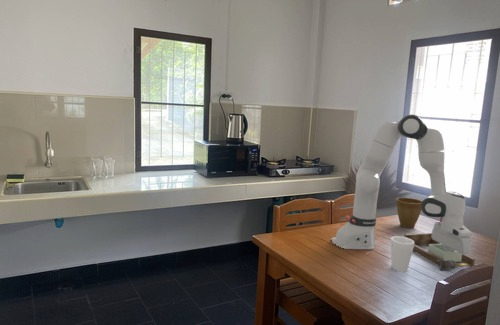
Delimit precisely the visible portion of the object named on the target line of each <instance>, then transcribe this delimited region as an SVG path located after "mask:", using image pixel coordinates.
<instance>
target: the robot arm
mask: <svg viewBox="0 0 500 325" xmlns="http://www.w3.org/2000/svg"><path fill="white" fill-rule="evenodd" d="M424 122H425V121H424V120H423V119H422V118H421V117H420V115H419V116H418V115H416V114H407V115H404V116H403V117H402V118H401V119H400V120H399V121H397V122H393V121H384V122H382V123H381V124H380V126H379V127H378V129H377V131H376V132H375V133H374V136H373V138H372V139H371V142H370V145H369V147H368V150H367V152H366V153H365V156H364V158H363V160H362V161H361V164H360V166H359V168H358V170H357V171H356V175H355V192H354V199H353V209H352V215H351V216H349V215H346V216H345V219H346V220H348V222H347V223H345V224H344V225H343V226H341V227H340V228H338V230H337V232H336V234H335V237H331V240H332V241H331V242H332V243H333V244H334V245H335V244H336V245H335V246H336V247H338V246H339V247H338V248H340V247H341V249H343V248H344V249H343V250H374V248H375V247H376V246H377V243H376V236H375V235H376V234H375V228H376V225H377V217H376V214H377V206H378V205H377V204H378V198H379V191H380V183H381V179H380V177H381V175H382V173H383V171H384V169H385V167H387V165H388V163H389V161H390V158H391V156H392V154H393V152H394V150H395V147H396V146H397V144H398V141H399V140H400V139H401V138H402V137H405V138H407V139H413V140H416V142H417V149H418V161H419V165H420V166H421V168H422V169H423V170H425V171H426V172H427V174H428V175H429V180H430V189H431V192H430V194H429V196H427V197H426V198H424V199H423V200H421V201H422V203H421V212H422V213H423V214H424V215H425V216H427V217H429V218H431V217H432V218H440V219H441V218H442V221H441V223H440V221H436V222H434V225H433V228H432V230H431V231H432V232H431V233H432V235H431V237H432V239H433V240H435V241H437V242H439V243H441V244H443V248H444V252H446V251H457V252H459V253H461V254H465V255H468V254H470V252H471V247H472V239H471V237H472V235H473V233H472V231H471V230H470V229H468V228H467V227H466V226H465V225H464V216H465V212H466V198H465V197H464V195H462V194H461V193H459V192H456V191H447V189H446V180H445V177H446V176H445V145H444V138H443V134H442V132H441V130H440V129H438V128H435V127H427V125H426V124H425V123H424ZM448 247H449V250H448Z"/></svg>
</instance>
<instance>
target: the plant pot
mask: <svg viewBox="0 0 500 325" xmlns="http://www.w3.org/2000/svg"><path fill="white" fill-rule="evenodd" d="M422 201H423V200H420V199H417V198H411V197H396V210H397V216H398V220H399V224H400V227H403V228H407V229H413V228H414V227H415V226H416V224H417V222H418V220H419V217H420V215H421V212H422V210H421V203H422Z"/></svg>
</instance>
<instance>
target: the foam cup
mask: <svg viewBox="0 0 500 325" xmlns="http://www.w3.org/2000/svg"><path fill="white" fill-rule="evenodd" d="M414 243H415V242H414V241H413V240H412V239H409V238H406V237H404V236H391V238H390V251H391V257H390V258H391V268H392V269H393V270H394V271H396V270H397V272H400V271H403V272H402V273H405V272H407V271H408V269H409V265H410V261H411V258H412V255H413V252H414V251H413V248H414Z"/></svg>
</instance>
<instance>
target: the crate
mask: <svg viewBox="0 0 500 325" xmlns="http://www.w3.org/2000/svg"><path fill="white" fill-rule="evenodd" d="M427 247H428V248H427V251H428V252H429V253H431V254H433V255H435V256H437V257H439V258H440V259H443V260H444V261H448V260H453V261H454V262H455V263H461V262H462V260H461V258H462V254H461V253H459V252H457V251H446V252H444V248H443V244H429V245H428V246H427ZM448 250H449V247H448Z"/></svg>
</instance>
